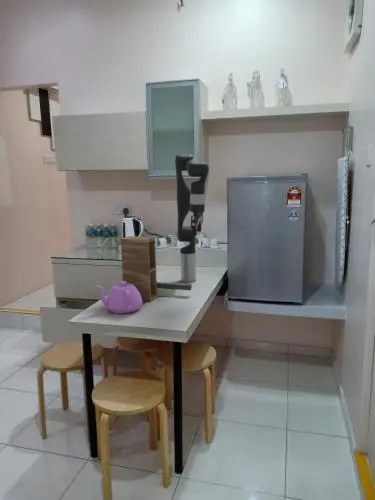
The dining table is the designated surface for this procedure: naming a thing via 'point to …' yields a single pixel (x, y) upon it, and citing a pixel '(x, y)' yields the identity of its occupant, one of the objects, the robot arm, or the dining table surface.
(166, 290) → the green block
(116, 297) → the teapot
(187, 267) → the robot arm
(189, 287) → the domino bar
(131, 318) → the dining table surface
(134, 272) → the shelf tower
